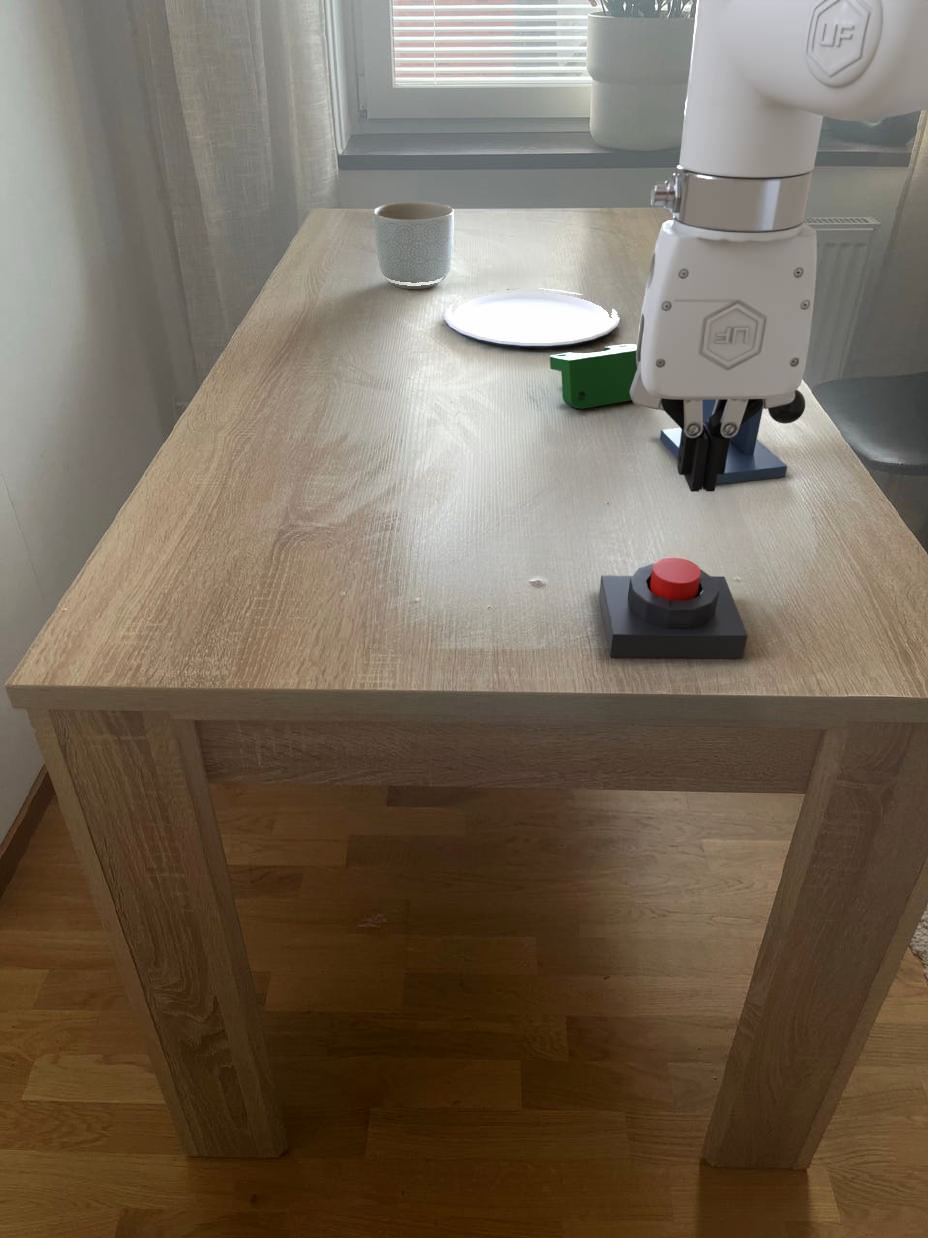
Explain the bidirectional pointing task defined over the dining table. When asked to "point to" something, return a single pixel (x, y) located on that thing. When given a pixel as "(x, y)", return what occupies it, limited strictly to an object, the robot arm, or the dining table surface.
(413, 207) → the planter
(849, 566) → the dining table surface
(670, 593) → the button
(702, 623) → the button box
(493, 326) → the plate
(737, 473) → the bracket
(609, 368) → the green mounting block
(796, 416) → the lever
